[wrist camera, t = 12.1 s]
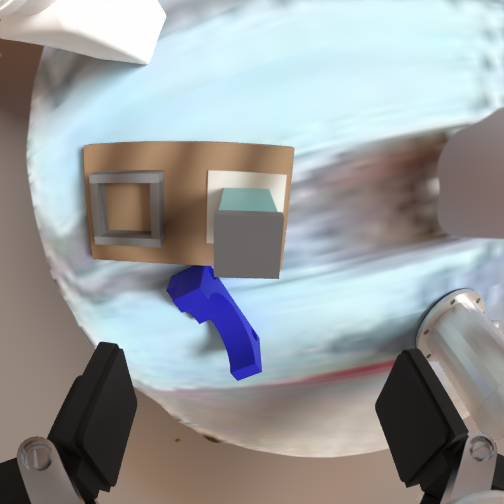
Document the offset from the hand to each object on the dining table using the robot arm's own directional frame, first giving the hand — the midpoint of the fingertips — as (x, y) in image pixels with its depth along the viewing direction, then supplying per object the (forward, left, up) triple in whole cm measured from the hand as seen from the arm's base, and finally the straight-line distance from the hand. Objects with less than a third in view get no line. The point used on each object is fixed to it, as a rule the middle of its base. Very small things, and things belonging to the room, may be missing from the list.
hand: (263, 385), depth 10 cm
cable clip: (+3, +12, -23) cm, 26 cm away
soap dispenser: (+12, -17, -23) cm, 31 cm away
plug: (0, 0, -21) cm, 21 cm away
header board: (+6, 0, -22) cm, 23 cm away
